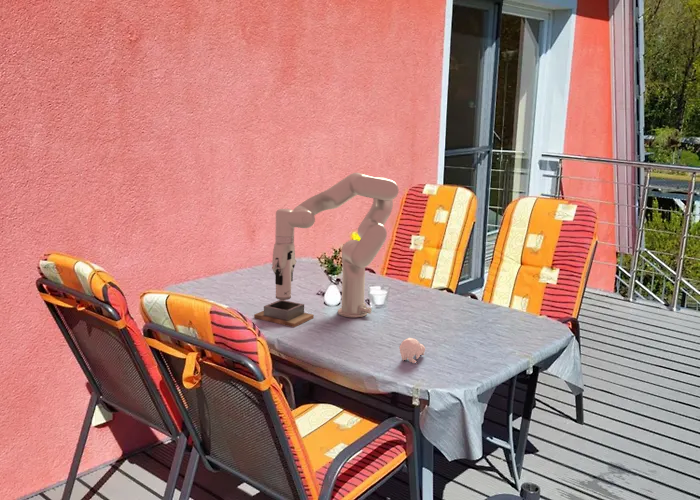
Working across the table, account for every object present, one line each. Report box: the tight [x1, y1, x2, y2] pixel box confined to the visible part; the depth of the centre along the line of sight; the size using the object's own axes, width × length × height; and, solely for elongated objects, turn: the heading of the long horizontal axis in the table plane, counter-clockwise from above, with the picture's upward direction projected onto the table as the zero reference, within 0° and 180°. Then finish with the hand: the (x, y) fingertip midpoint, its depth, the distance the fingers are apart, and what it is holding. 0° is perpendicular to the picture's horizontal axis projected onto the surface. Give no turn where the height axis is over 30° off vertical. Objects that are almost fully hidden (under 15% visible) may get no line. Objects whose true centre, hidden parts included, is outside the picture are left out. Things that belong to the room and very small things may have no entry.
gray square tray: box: [263, 299, 305, 321], centre depth 277 cm, size 12×12×4 cm
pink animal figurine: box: [399, 337, 426, 364], centre depth 237 cm, size 6×8×12 cm
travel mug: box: [275, 251, 293, 301], centre depth 274 cm, size 6×7×20 cm
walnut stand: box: [253, 310, 315, 328], centre depth 278 cm, size 20×14×2 cm
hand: (284, 282), depth 275 cm, fingers closed on travel mug, 6 cm apart
